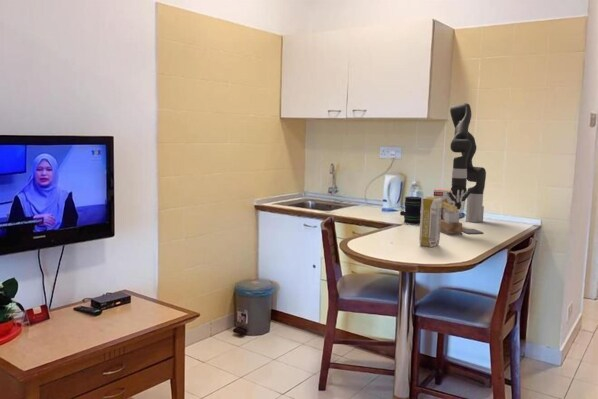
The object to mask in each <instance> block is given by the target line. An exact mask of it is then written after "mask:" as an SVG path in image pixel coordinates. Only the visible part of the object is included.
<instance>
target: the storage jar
mask: <svg viewBox="0 0 598 399" xmlns="http://www.w3.org/2000/svg"><path fill="white" fill-rule="evenodd" d="M422 199H423V198H422V197H420V196H405V197H404V212H403V213H404V215H403V219H404V220H403V223H405V224H409V225H410V224H411V225H416V224H419V225H420V218H421V203H422Z"/></svg>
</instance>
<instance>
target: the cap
mask: <svg viewBox="0 0 598 399" xmlns="http://www.w3.org/2000/svg"><path fill="white" fill-rule="evenodd" d="M444 222H447V223H459V222H460V213H456V212H445V213H444Z"/></svg>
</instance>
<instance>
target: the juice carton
mask: <svg viewBox="0 0 598 399" xmlns="http://www.w3.org/2000/svg"><path fill="white" fill-rule="evenodd" d="M432 196H433V195H426V196H425V198H424V197H423V198H422V199H421V200H422V203H421V218H420V223H419V237H418V238H419V246H421V245H423V246H422V247H426V246H429V247H428V248H433V246H434V247H436V245H437V246H438V245H439V244H440V241H441V240H440V239H441V232H440V225H441V207H442V203H441V198H433V197H434V196H433V197H432Z"/></svg>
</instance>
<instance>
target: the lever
mask: <svg viewBox="0 0 598 399" xmlns="http://www.w3.org/2000/svg"><path fill="white" fill-rule="evenodd" d="M441 203H442V207H441V218H443V208H445V209H448V210H451V211H457V206H454V205H451V204H448V203H445V202H441Z"/></svg>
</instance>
